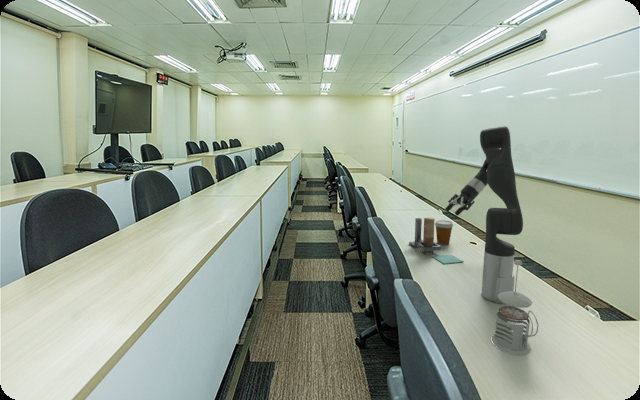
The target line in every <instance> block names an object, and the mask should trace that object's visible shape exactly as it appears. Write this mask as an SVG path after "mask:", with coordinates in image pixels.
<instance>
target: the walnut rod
mask: <svg viewBox="0 0 640 400" xmlns="http://www.w3.org/2000/svg"><path fill="white" fill-rule="evenodd" d="M435 222H436V221H435V218H433V217H424V218H423V239H422V240H423V246H425V247H430V246H433V243H434V241H435V238H434V235H435ZM422 254H426V255H433V254H434V251H425V252H424V251H423V250H422Z"/></svg>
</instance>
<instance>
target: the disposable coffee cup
mask: <svg viewBox="0 0 640 400" xmlns="http://www.w3.org/2000/svg"><path fill="white" fill-rule="evenodd" d="M434 227H435V233H436V244H438V245H444V246H445V245H450V241H451V236H452V235H451V234H452V230H453V227H454V224H453V222H452V221H449V220H442V219H441V220H436V221H435V222H434Z"/></svg>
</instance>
